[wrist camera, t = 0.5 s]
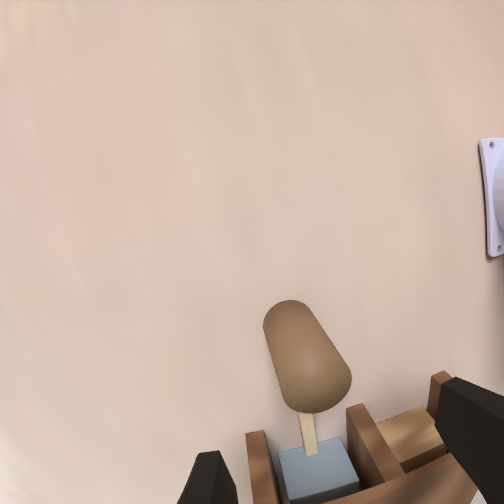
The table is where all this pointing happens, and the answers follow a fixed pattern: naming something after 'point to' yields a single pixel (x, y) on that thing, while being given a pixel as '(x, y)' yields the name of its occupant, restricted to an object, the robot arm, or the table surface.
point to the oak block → (413, 438)
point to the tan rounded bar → (310, 402)
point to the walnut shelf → (374, 466)
